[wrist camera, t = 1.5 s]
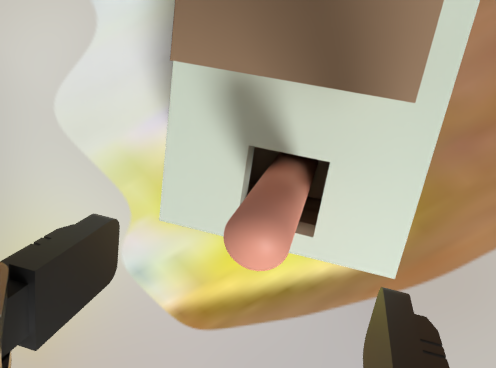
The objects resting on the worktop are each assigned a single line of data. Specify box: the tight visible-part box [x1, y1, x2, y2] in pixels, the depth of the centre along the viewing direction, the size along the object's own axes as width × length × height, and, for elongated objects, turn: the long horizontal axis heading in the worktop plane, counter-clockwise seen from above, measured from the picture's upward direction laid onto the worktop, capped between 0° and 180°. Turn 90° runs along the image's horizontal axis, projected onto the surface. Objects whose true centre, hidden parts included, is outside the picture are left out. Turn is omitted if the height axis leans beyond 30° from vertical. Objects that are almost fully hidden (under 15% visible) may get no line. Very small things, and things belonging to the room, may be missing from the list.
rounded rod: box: [224, 152, 318, 271], centre depth 20 cm, size 2×2×12 cm
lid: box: [159, 0, 480, 279], centre depth 17 cm, size 14×12×6 cm
